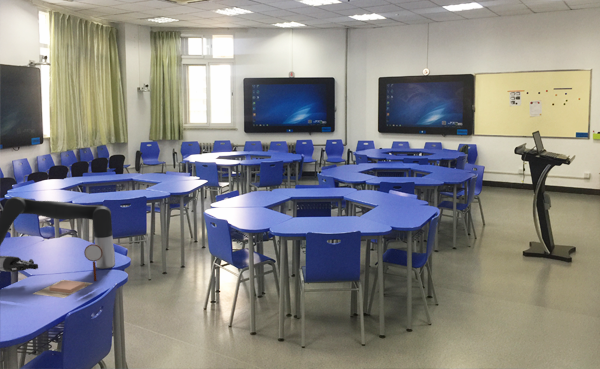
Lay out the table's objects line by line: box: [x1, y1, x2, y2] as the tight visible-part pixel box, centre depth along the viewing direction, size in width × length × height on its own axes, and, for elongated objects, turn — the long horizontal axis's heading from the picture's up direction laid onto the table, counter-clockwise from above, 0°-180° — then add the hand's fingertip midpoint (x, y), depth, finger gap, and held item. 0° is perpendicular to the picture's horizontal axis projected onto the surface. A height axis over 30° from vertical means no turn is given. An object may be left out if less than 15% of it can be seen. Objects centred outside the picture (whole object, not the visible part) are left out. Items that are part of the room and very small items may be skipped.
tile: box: [49, 279, 86, 295], centre depth 251 cm, size 10×2×12 cm
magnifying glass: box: [83, 243, 102, 282], centre depth 260 cm, size 9×2×20 cm, turn 95°
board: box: [32, 279, 94, 299], centre depth 252 cm, size 20×18×1 cm
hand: (36, 266), depth 254 cm, fingers closed
